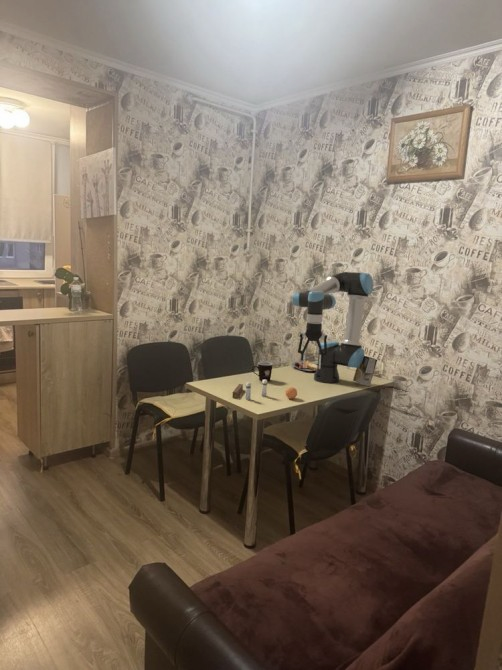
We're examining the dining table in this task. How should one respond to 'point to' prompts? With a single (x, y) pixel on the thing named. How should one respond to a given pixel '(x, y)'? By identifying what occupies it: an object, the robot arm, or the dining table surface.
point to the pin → (264, 388)
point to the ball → (291, 392)
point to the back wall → (237, 390)
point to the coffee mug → (264, 370)
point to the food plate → (306, 365)
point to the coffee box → (365, 371)
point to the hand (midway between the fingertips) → (311, 367)
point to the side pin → (248, 390)
